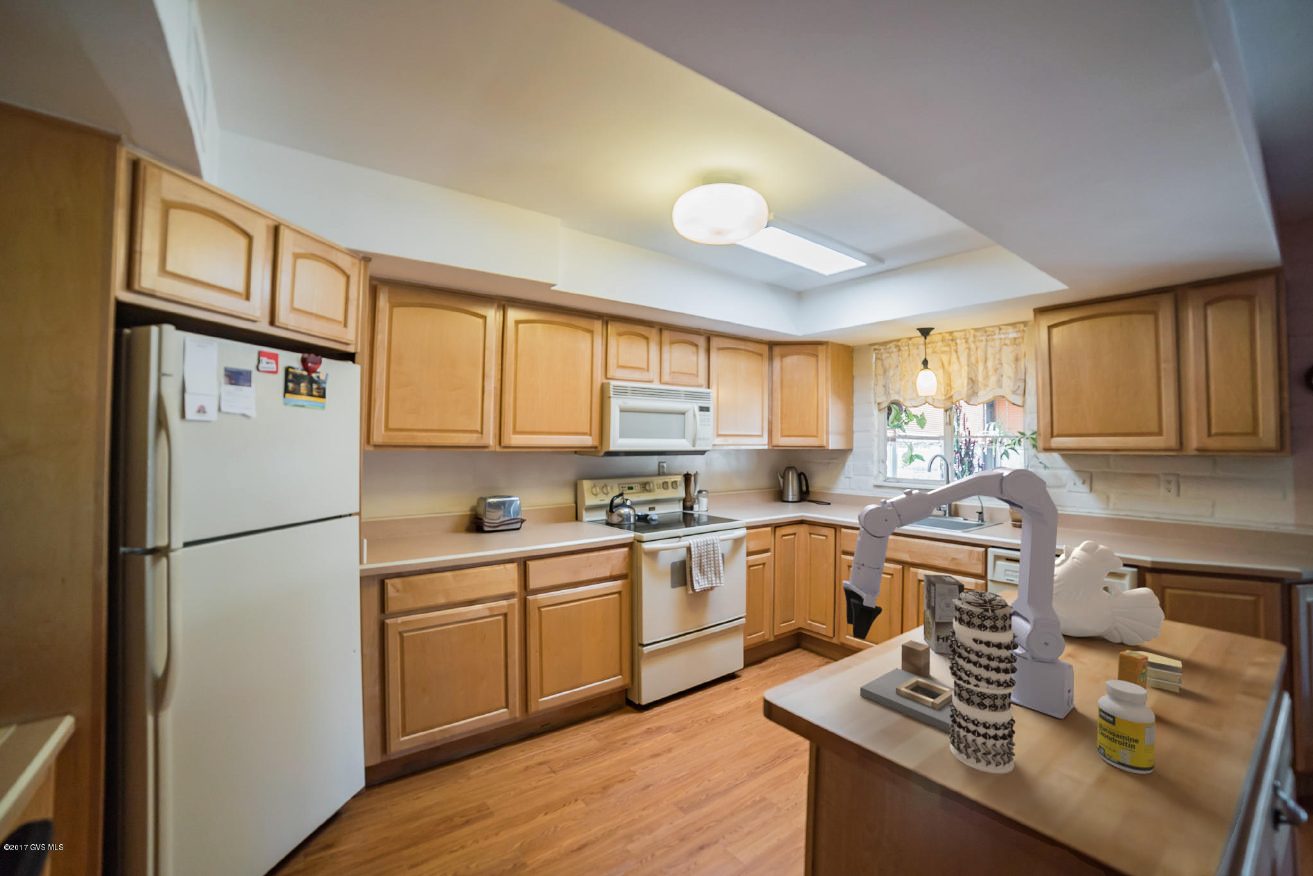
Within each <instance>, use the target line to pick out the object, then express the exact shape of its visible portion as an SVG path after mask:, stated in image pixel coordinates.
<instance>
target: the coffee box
mask: <svg viewBox="0 0 1313 876" xmlns="http://www.w3.org/2000/svg"><path fill="white" fill-rule="evenodd" d="M964 591H965V584H963V583H962V582H960V581H959V580H957V579H956V578H955V577H953V576H951V575H946V574H923V640H924V641H925V642H926V643H927V645H928V646H930V649H932V650H933V652H934V653H938V654H950V655H951V653H952V652H950V648H949V646H948V644H949V643H950V638H949V637H948V635H949V634H950V631H951V630H953V629H954V628H953V618H954V617H955V613H954V608H955V603H953V601H952V600H953V599H954V598H957V597H958V596H959V595H960V594H961V593H962V592H964ZM953 637H954V638H955V636H953ZM954 646H955V645H953V647H954Z"/></svg>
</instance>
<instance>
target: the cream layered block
mask: <svg viewBox="0 0 1313 876" xmlns="http://www.w3.org/2000/svg"><path fill="white" fill-rule="evenodd" d="M1135 652H1137V653H1140V654H1143V655H1145V656H1147V657H1148V667H1147V685H1146V687H1148V688H1149V687H1150V688H1158V689H1162V690H1167V691H1171V692H1175V693H1178V694H1179V693H1180V686H1181V687H1182V686H1183V683H1182V678H1181V677H1180V676H1183V671H1182V668H1183V665H1182V661H1181V660H1177V659H1174V658H1169V657H1165V656H1162V655H1159V654H1156V653H1152V652H1151V653H1150V652H1147V651H1142V650H1141V651H1140V650H1139V651H1137V650H1136V651H1135Z"/></svg>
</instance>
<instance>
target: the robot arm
mask: <svg viewBox="0 0 1313 876" xmlns="http://www.w3.org/2000/svg"><path fill="white" fill-rule="evenodd" d="M976 496H983V497H989V498H990V497H991V498H995V499H997V500H998V501H1001V502H1003V503H1005V504H1006V505H1008V506H1009V507H1010V508H1012V509H1013V510H1014V511H1015V512H1016V513H1017V514H1018V515H1020V517H1021V519H1022V521H1021V535H1020V536H1021V537H1020V551H1019V568H1018V583H1017V598H1016V599H1015V600H1014V601H1013V602H1012V603H1011V604H1010V606H1011V607H1012V608H1013V609H1014V611H1013V612H1012V629H1013V633H1014V634H1015V635H1016V636H1017V638H1016V639H1014V642H1015V643H1017V644H1018V646H1019V647H1018V648H1017V649H1016V650H1013V651H1012V650H1011V654H1013V655H1014V656H1016V657H1017V661H1016V662H1015V663H1012V664H1013V665H1014V666H1015V667H1016V668H1017V671H1016V672H1015V673H1014V674H1010V675H1011V678H1013V679H1014V680H1015V682H1016V684H1015V689H1014V690H1013V692H1011V703H1014V704H1017V705H1020V706H1022V707H1024V708H1028V709H1031V710H1034V711H1036V712H1040V713H1042V714H1045V715H1048V716H1051V717H1054V718H1057V719H1060V720H1063V719H1064V718H1065V717H1066V716H1067V715H1068V714H1069V713H1070V712H1071V710H1073V709H1074V707H1075V703H1074V700H1075V699H1074V697H1075V690H1074V688H1075V685H1074V684H1075V673H1074V672H1075V671H1074V667H1073V665H1072V664H1071V663H1068V662H1065V661H1063V660H1061V659H1059V658H1060V657H1061V656H1062V654H1064V652H1065V649H1066V642H1065V638H1064V636H1063V634H1061V631H1060V620H1059V618H1058V616H1057V615H1056V613H1055V611H1054V609H1053V606H1052V602H1053V586H1054V570H1055V561H1056V554H1057V553H1056V551H1057V537H1058V522H1059V521H1058V519H1059V512H1058V511H1059V510H1058V507H1056V504H1055V502H1054V500H1053V498H1052V496H1051V495H1050V493H1049V492H1048V490H1047V481H1045V480H1044V479H1043V478H1042V477H1040V476H1038V475H1037V474H1036V473H1034V472H1033V471H1031V470H1030V469H1025V468H1011V467H1006V466H996V467H993V468H991V469H989V470H988V469H985V470H981V471H978V472H976V473H973V474H970V475H968V476H964V477H963V478H960V479H957V480H955V481H953V482H950V483H948V484H946V485H943V486H940V487H938V488H935V489H933V490H931V491H928V492H924V491H921V490H918V489H915V490H912V489H908V488H907V489H906V490H903V494H901V495H898V496H895V497H893V498H890V499H887V500H886V498H883V499H881V500H879V502H880V504H875V503H874V504H868V505H867V506H865V507H863V508H862V510H861V511H860V513H859V514H858V515H857V520H858V523H859V525H860V527H859V532H858V536H857V539H856V544H855V548H854V549H855V550H854V553H853V559H852V563H851V564H852V565H851V570H850V575H849V580H842V582H841V583H842V586H843V587H842V589H843V593H844V596H845V605H846V607H845V608H846V612H845V613H846V624H848V625H852V637H853V638H855V639H859V640H866V638H867V636H868V633H869V631H870V630H871V628H872V625H873V623H874V622H875V620H876V619H877V617H879V615H881V613H882V612H883V608H882V607H881V606H877V605H876V603H877V598H878V597H879V596H880V595H881V594H880V593H881V589H880V587H881V583H882V582H881V581H882V577H883V573H884V568H885V561H886V556H887V550H888V542H889V538H890V536H891V535H892V534H893V533H894V532H895V530H896V528H897V529H900V528H903V527H906V526H908V525H913V524H914V523H917V522H920V521H922V520H926V519H929V518H930V517H931V516H932V515H933V513H934V510H935V509H937V508H940V507H943V506H947V505H950V504H953V503H956V502H959V501H962V500H967V499H969V498H972V497H976ZM1012 640H1013V639H1012Z"/></svg>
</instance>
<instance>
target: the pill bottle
mask: <svg viewBox="0 0 1313 876" xmlns="http://www.w3.org/2000/svg"><path fill="white" fill-rule="evenodd" d="M1105 691H1106V693H1107V694H1104V695H1102V696H1100V697H1099V699H1098V702H1097V744H1096V746H1097V748H1096V749H1097V753H1098V755H1099V757H1100V758H1101V759H1103V761H1105V762H1106V763H1108V764H1110V765H1111V766H1113V767H1116V768H1118V769H1120V770H1122V771H1125V772H1129V773H1133V774H1137V775H1138V774H1139V775H1146V774H1151V773H1152V772H1153V771H1154V769H1155V750H1156V749H1155V742H1156V741H1155V740H1156V716H1155V712H1153V710H1152V709H1151V708H1150V707H1149V706H1148V705H1147V704H1146V703H1147V702H1148V691H1147V689H1146V690H1145V689H1144V688H1143V687H1141V686H1138V685H1136V684H1133V683H1130V682H1126V681H1121V680H1118V679H1109V680H1107V681H1106V682H1105ZM1145 702H1146V703H1145Z"/></svg>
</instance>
